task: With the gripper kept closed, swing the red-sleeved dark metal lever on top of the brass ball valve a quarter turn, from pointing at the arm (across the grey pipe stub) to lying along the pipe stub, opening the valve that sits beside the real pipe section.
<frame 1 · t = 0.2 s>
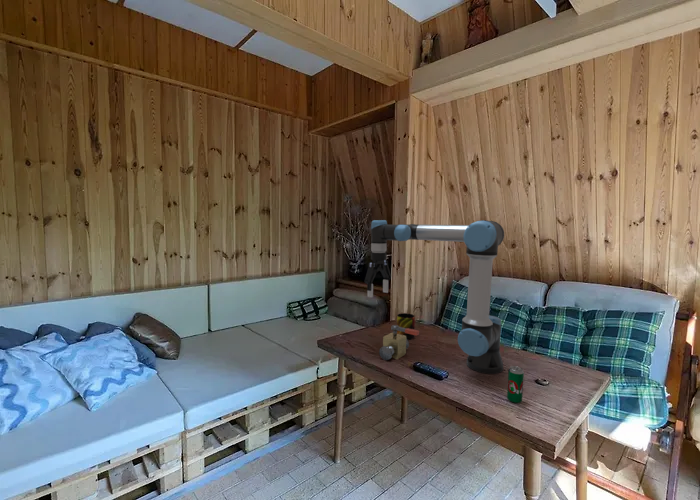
hand: (378, 294, 168), 28 cm above the table, fingers open, 13 cm apart
mug: (402, 336, 191), on the table
valve: (394, 354, 164), on the table
lever: (404, 333, 160), point 12 cm above the table, hinge at 0.0°
soda can: (514, 400, 124), on the table
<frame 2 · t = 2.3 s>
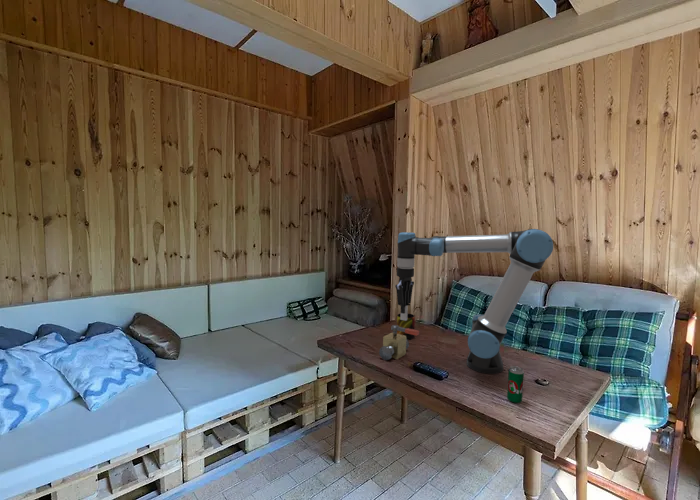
hand: (403, 319, 152), 20 cm above the table, fingers closed
nothing on the table moved.
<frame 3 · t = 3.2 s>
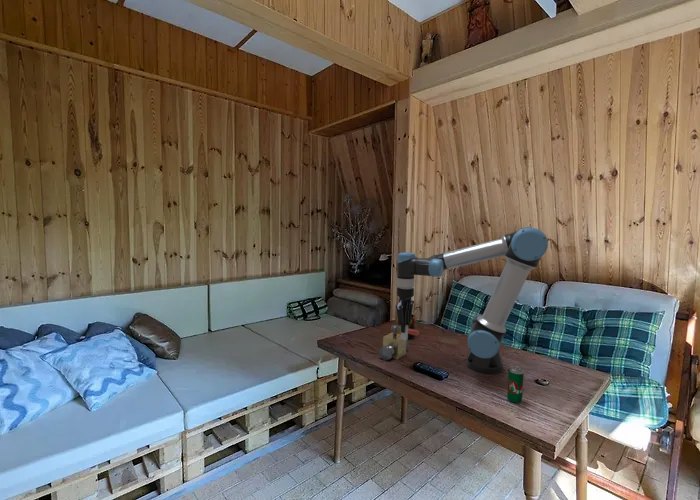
hand: (404, 339, 153), 11 cm above the table, fingers closed
nothing on the table moved.
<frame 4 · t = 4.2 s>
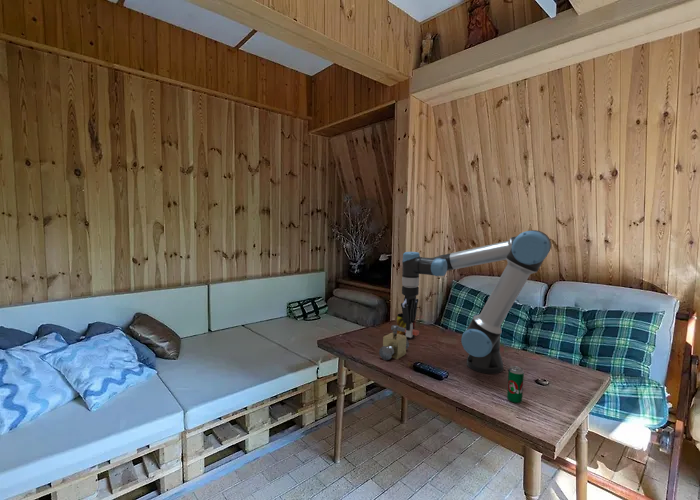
hand: (409, 336, 157), 11 cm above the table, fingers closed
lever: (404, 333, 160), point 12 cm above the table, hinge at 0.0°, touching gripper
everything else where it was.
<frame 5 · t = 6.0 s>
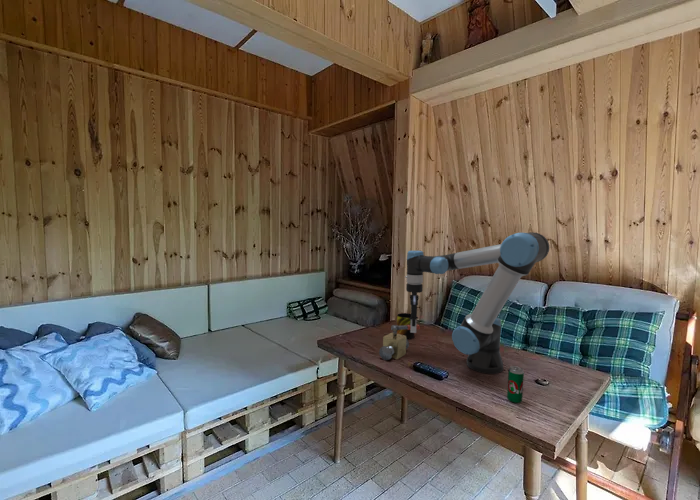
hand: (413, 332, 163), 11 cm above the table, fingers closed
lever: (405, 330, 164), point 12 cm above the table, hinge at 47.1°, touching gripper
everything else where it was.
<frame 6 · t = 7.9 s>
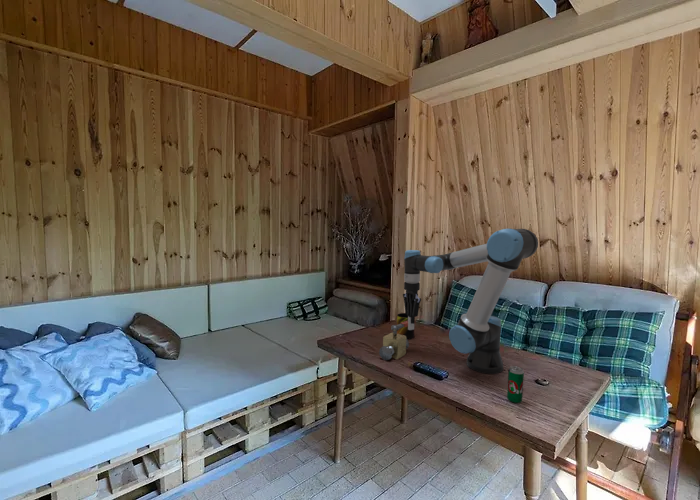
hand: (411, 329, 168), 11 cm above the table, fingers closed
lever: (401, 328, 167), point 12 cm above the table, hinge at 83.3°
everything else where it was.
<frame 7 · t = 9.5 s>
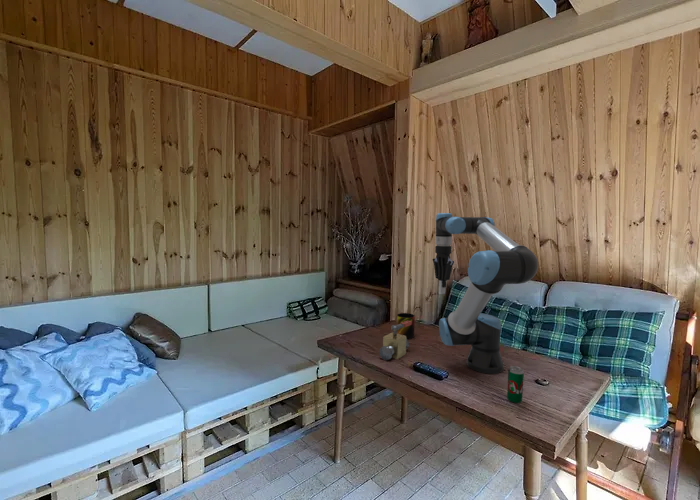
hand: (442, 293, 166), 29 cm above the table, fingers closed
nothing on the table moved.
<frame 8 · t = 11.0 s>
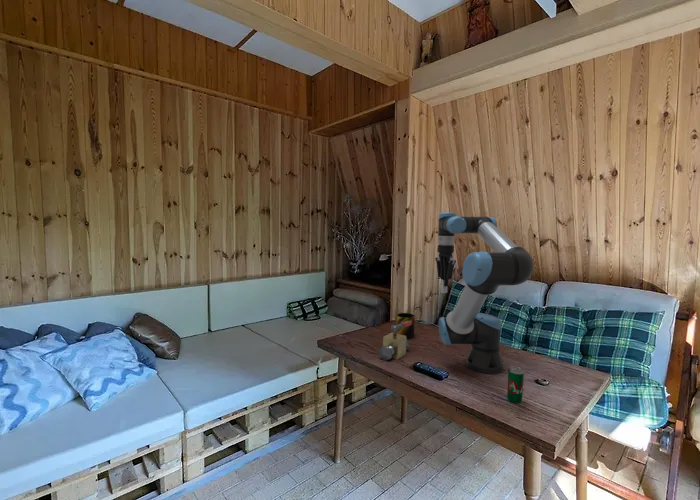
hand: (444, 292, 167), 29 cm above the table, fingers closed
nothing on the table moved.
at the end: lever at +83° (first picture: +0°) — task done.
